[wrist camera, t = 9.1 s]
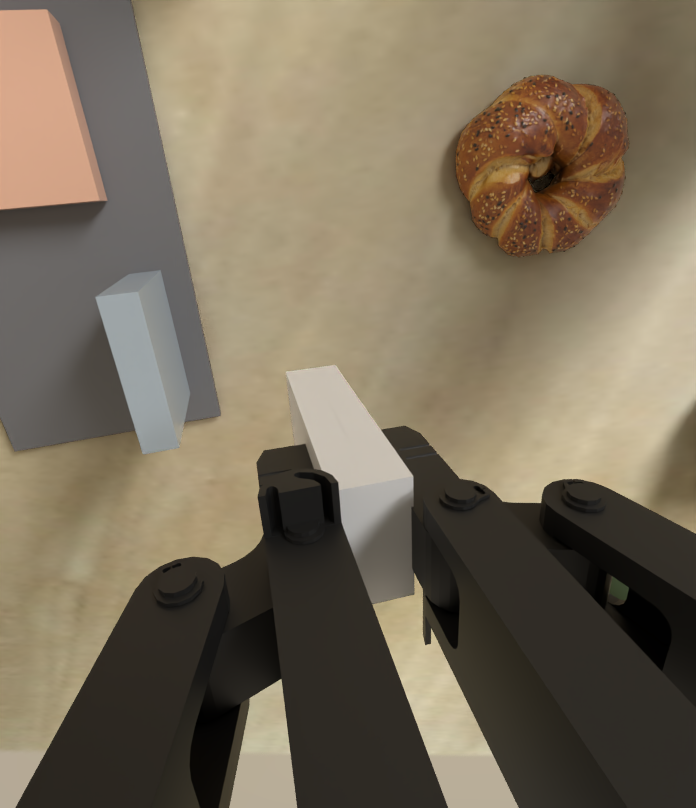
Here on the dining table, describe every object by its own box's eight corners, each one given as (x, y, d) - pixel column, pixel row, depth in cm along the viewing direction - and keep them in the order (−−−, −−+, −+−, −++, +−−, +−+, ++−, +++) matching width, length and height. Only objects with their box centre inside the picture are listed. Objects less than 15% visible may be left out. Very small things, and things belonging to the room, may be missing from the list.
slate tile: (126, 274, 28) (91, 297, 21) (160, 270, 28) (138, 291, 21) (159, 397, 31) (139, 455, 24) (190, 393, 32) (179, 447, 24)
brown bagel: (424, 227, 32) (446, 229, 29) (483, 44, 29) (516, 22, 25) (565, 275, 36) (599, 282, 32) (632, 117, 32) (678, 106, 29)
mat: (-179, -20, 21) (-189, -26, 21) (125, -24, 24) (123, -29, 23) (18, 447, 31) (14, 451, 30) (220, 412, 33) (220, 415, 33)
